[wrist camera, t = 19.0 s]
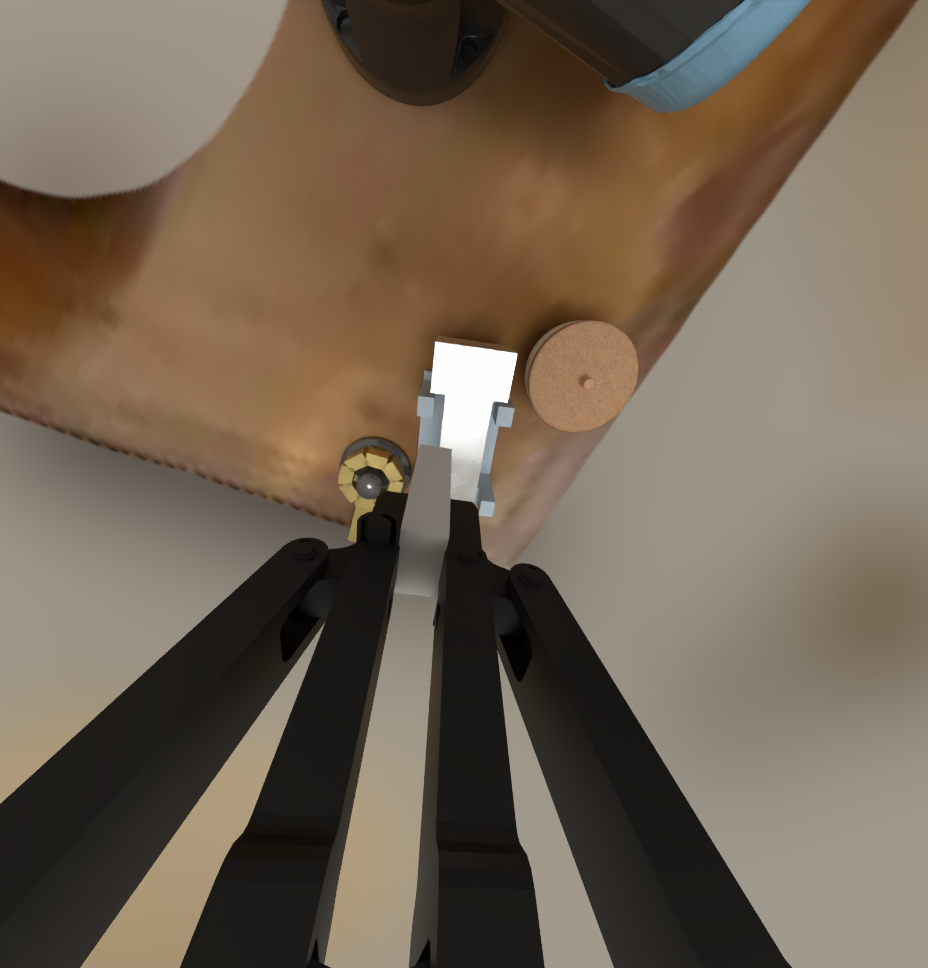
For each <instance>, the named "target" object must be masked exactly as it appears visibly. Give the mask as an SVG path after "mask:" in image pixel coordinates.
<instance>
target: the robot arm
mask: <svg viewBox="0 0 928 968" xmlns="http://www.w3.org/2000/svg"><path fill="white" fill-rule="evenodd" d="M320 1H321V3H322V6H323V9H324V11H325V13H326V16H327V18H328V20H329V22H330V25H331V27H332V29H333V31H334V33H335V35H336V37H337V40H338V42H339V43H340V45H341V47H342V49H343V51H344V52H345V54H346V55H347V57H348V58H349V60H350V61H351V63H352V64H353V65H354V67H355V68H356V69H357V70H358V72H359V73H360V74H361V75H362V76H363V77H364V78H365V79H366V80H367V81H368V82H369V83H370V84H371V85H373V86H374V87H375V88H376V89H378V90H379V91H380V92H382V93H383V94H385V95H387V96H389V97H391V98H393V99H395V100H397V101H400V102H403V103H407V104H412V105H432V104H437V103H441V102H444V101H447V100H449V99H451V98H453V97H455V96H457V95H458V94H460V93H461V92H463V91H464V90H465V89H466V88H468V87H469V86H470V85H471V84H472V83H473V82H474V81H475V80H476V79H477V78H478V77H479V75H480V74H481V73H482V72H483V70H484V69H485V67H486V66H487V64H488V63H489V61H490V60H491V58H492V56H493V54H494V52H495V50H496V48H497V46H498V44H499V42H500V39H501V37H502V34H503V31H504V28H505V25H506V22H507V18H508V14H509V11H510V12H512V13H513V14H515V15H516V16H517V17H519V18H520V19H522V20H523V21H524V22H526V23H527V24H529V25H530V26H531V27H533V28H534V29H536V30H537V31H538V32H540V33H541V34H543V35H544V36H545V37H547V38H548V39H550V40H551V41H552V42H554V43H555V44H557V45H558V46H559V47H561V48H562V49H564V50H565V51H566V52H568V53H569V54H571V55H572V56H573V57H575V58H576V59H578V60H579V61H580V62H582V63H583V64H585V65H586V66H587V67H589V68H590V69H592V70H593V71H594V72H596V73H597V74H599V75H600V76H601V77H602V82H603V84H604V85H605V86H606V87H607V88H608V89H609V90H610V91H612V92H618V93H621V94H623V93H625V94H627V95H628V96H630V97H632V98H633V99H635V100H636V101H638V102H640V103H641V104H643V105H644V106H646V107H648V108H649V109H651V110H653V111H655V112H659V113H667V112H675V111H682V110H685V109H688V108H690V107H692V106H694V105H696V104H698V103H700V102H701V101H703V100H705V99H706V98H708V97H709V96H711V95H712V94H713V93H715V92H716V91H718V90H719V89H720V88H722V87H723V86H724V85H725V84H727V83H728V82H729V81H730V80H732V79H733V78H734V77H735V76H736V75H737V74H738V73H740V72H741V71H742V70H743V69H744V68H745V67H746V66H747V65H749V64H750V63H751V62H752V61H753V60H754V59H755V58H756V57H757V56H758V55H759V54H760V53H761V52H762V51H763V50H764V49H765V48H766V47H767V46H768V45H769V44H770V43H771V42H772V41H773V40H774V39H775V38H776V37H777V36H778V35H779V34H780V33H781V32H782V31H783V30H784V29H785V28H786V27H787V26H788V25H789V24H790V23H791V22H792V21H793V19H794V18H795V17H796V16H797V15H798V14H799V13H800V12H801V11H802V10H803V9H804V7H805V6H806V5H807V4H808V3H809V2H810V1H811V0H320ZM451 460H452V449H449V448H443V447H436V446H430V445H423V444H420V446H419V450H418V455H417V459H416V463H415V468H414V472H413V477H412V481H411V486H410V490H409V494H406V493H399V492H392V491H384V492H383V493H381V494H380V495H379V496H378V497H377V499H376V502H375V505H374V507H373V510H372V511H371V512H367V513H365V514H363V515H361V516H360V517H359V518H358V520H357V535H356V543H355V544H353V545H351V546H348V547H344V548H337V549H328V546H327V545H326V544H325V542H323V541H321V540H319V539H315V538H300V539H297V540H293V541H291V542H290V543H288V544H286V545H284V546H283V547H282V548H281V549H280V550H279V551H278V552H277V553H276V554H275V555H274V556H272V557H271V558H270V559H269V560H268V561H267V562H266V563H265V564H263V565H262V566H261V567H260V568H259V569H258V570H257V571H256V572H255V573H254V574H252V575H251V576H250V577H249V578H248V579H247V580H246V581H245V582H244V583H243V584H241V585H240V586H239V587H238V588H237V589H236V590H235V591H234V592H233V593H232V594H231V595H229V596H228V597H227V598H226V599H225V600H224V601H223V602H222V603H221V604H219V605H218V606H217V607H216V608H215V609H214V610H213V611H212V612H211V613H210V614H208V615H207V616H206V617H205V618H204V619H203V620H202V621H201V622H200V623H199V624H198V625H196V626H195V627H194V628H193V629H192V630H191V631H190V632H189V633H188V634H187V635H185V637H183V638H182V639H181V640H180V641H179V642H178V643H177V644H176V645H175V646H173V647H172V648H171V649H170V650H169V651H168V652H167V653H166V654H165V655H163V656H162V657H161V658H160V659H159V660H158V661H157V662H156V663H155V664H154V665H152V666H151V667H150V668H149V669H148V670H147V671H146V672H145V673H144V674H143V675H141V677H139V678H138V679H137V680H136V681H135V682H134V683H133V684H132V685H130V686H129V687H128V688H127V689H126V690H125V691H124V692H123V693H122V694H121V695H119V696H118V697H117V698H116V699H115V700H114V701H113V702H112V703H111V704H110V705H108V706H107V707H106V708H105V709H104V710H103V711H102V712H101V713H100V714H99V715H98V716H96V717H95V718H94V719H93V720H92V721H91V722H90V723H89V724H88V725H87V726H85V727H84V728H83V729H82V730H81V731H80V732H79V733H78V734H77V735H76V736H74V737H73V738H72V739H71V740H70V741H69V742H68V743H67V744H66V745H64V746H63V747H62V748H61V749H60V750H59V751H58V752H57V753H56V754H55V755H54V756H52V757H51V758H50V759H49V760H48V761H47V762H46V763H45V764H44V765H43V766H42V767H40V768H39V769H38V770H37V771H36V772H35V773H34V774H33V775H32V776H31V777H29V778H28V779H27V780H26V781H25V782H24V783H23V784H22V785H21V786H20V787H18V788H17V789H16V790H15V791H14V792H13V793H12V794H11V795H10V796H8V797H7V798H6V799H5V800H4V801H3V802H2V803H1V804H0V968H80V967H81V965H82V964H83V963H84V961H85V960H86V958H87V957H88V956H89V954H90V953H91V951H92V950H93V949H94V947H95V946H96V944H97V943H98V942H99V940H100V939H101V937H102V936H103V934H104V933H105V932H106V930H107V928H108V927H109V926H110V924H111V923H112V922H113V920H114V919H115V918H116V916H117V915H118V913H119V912H120V910H121V909H122V908H123V906H124V905H125V903H126V902H127V901H128V899H129V898H130V896H131V895H132V894H133V892H134V891H135V889H136V888H137V887H138V885H139V884H140V882H141V881H142V879H143V878H144V877H145V875H146V874H147V872H148V871H149V869H150V868H151V867H152V865H153V864H154V863H155V861H156V859H157V858H158V857H159V855H160V854H161V853H162V851H163V850H164V848H165V847H166V846H167V844H168V843H169V841H170V840H171V839H172V837H173V836H174V834H175V833H176V831H177V830H178V829H179V827H180V826H181V824H182V823H183V822H184V820H185V819H186V817H187V816H188V815H189V813H190V812H191V810H192V809H193V807H194V806H195V805H196V803H197V802H198V800H199V799H200V797H201V796H202V795H203V793H204V792H205V791H206V789H207V788H208V786H209V785H210V783H211V782H212V781H213V779H214V778H215V777H216V775H217V774H218V772H219V771H220V769H221V768H222V767H223V765H224V763H225V762H226V761H227V760H228V758H229V757H230V755H231V754H232V752H233V751H234V750H235V748H236V747H237V745H238V744H239V743H240V741H241V740H242V738H243V737H244V736H245V734H246V733H247V731H248V730H249V728H250V727H251V726H252V724H253V723H254V721H255V720H256V719H257V717H258V716H259V714H260V713H261V712H262V710H263V709H264V707H265V706H266V705H267V703H268V702H269V700H270V699H271V698H272V696H273V695H274V693H275V691H276V690H277V689H278V688H279V686H280V684H281V683H282V682H283V681H284V679H285V678H286V676H287V675H288V674H289V672H290V671H291V669H292V668H293V666H294V665H295V664H296V662H297V661H298V659H299V658H300V657H301V655H302V654H303V652H304V651H305V650H306V648H307V647H308V645H309V644H310V642H311V641H312V640H313V638H314V637H315V635H316V634H317V632H318V631H319V630H320V628H321V627H322V625H323V624H324V623H325V625H324V627H323V630H322V633H321V635H320V638H319V641H318V643H317V646H316V648H315V651H314V654H313V656H312V659H311V661H310V664H309V667H308V670H307V672H306V675H305V677H304V680H303V682H302V685H301V688H300V690H299V693H298V695H297V698H296V701H295V703H294V706H293V709H292V712H291V714H290V717H289V719H288V722H287V724H286V727H285V730H284V732H283V735H282V737H281V740H280V743H279V745H278V748H277V750H276V753H275V756H274V759H273V761H272V764H271V766H270V769H269V771H268V774H267V777H266V779H265V782H264V784H263V787H262V790H261V792H260V795H259V798H258V800H257V803H256V805H255V808H254V811H253V813H252V816H251V818H250V821H249V823H248V825H247V827H246V829H245V830H244V832H243V833H242V834H241V836H240V837H239V838H238V839H237V840H236V841H235V842H234V843H233V845H232V847H231V848H230V850H229V852H228V854H227V855H226V857H225V859H224V861H223V864H222V866H221V868H220V870H219V873H218V875H217V877H216V879H215V882H214V884H213V887H212V889H211V892H210V894H209V897H208V899H207V902H206V904H205V907H204V909H203V912H202V914H201V917H200V919H199V922H198V924H197V926H196V929H195V931H194V934H193V936H192V939H191V941H190V944H189V947H188V949H187V951H186V954H185V956H184V959H183V961H182V964H181V966H180V968H330V967H328V966H326V965H324V961H325V956H326V950H327V945H328V939H329V934H330V929H331V922H332V917H333V910H334V904H335V897H336V890H337V885H338V880H339V875H340V870H341V865H342V859H343V854H344V849H345V844H346V839H347V834H348V829H349V823H350V818H351V813H352V808H353V802H354V798H355V793H356V788H357V782H358V777H359V772H360V767H361V762H362V757H363V752H364V747H365V742H366V737H367V731H368V726H369V721H370V715H371V711H372V706H373V701H374V696H375V690H376V685H377V680H378V675H379V670H380V665H381V660H382V655H383V650H384V644H385V639H386V634H387V629H388V624H389V619H390V614H391V608H392V602H393V594H394V593H402V594H411V595H420V596H429V597H437V596H438V601H437V605H436V611H435V616H434V621H433V626H435V628H434V641H433V657H432V672H431V686H430V701H429V716H428V731H427V746H426V761H425V776H424V791H423V792H424V793H423V806H422V821H421V837H420V851H419V867H418V881H417V892H416V901H415V908H414V916H413V924H412V934H411V947H410V959H409V968H545V967H544V959H543V951H542V944H541V936H540V928H539V920H538V912H537V904H536V896H535V889H534V883H533V877H532V871H531V867H530V864H529V860H528V857H527V854H526V853H525V851H524V850H523V848H522V846H521V845H520V842H519V839H518V835H517V828H516V820H515V811H514V802H513V792H512V783H511V773H510V764H509V755H508V746H507V738H506V737H507V736H506V727H505V718H504V709H503V699H502V692H501V681H500V672H499V663H498V653H499V655H500V658H501V661H502V663H503V666H504V669H505V672H506V674H507V677H508V680H509V682H510V685H511V688H512V691H513V693H514V696H515V699H516V701H517V704H518V707H519V710H520V712H521V715H522V718H523V720H524V723H525V726H526V729H527V731H528V734H529V737H530V740H531V742H532V745H533V748H534V751H535V753H536V756H537V759H538V761H539V764H540V767H541V770H542V772H543V775H544V778H545V780H546V783H547V786H548V789H549V791H550V794H551V797H552V800H553V802H554V805H555V808H556V811H557V813H558V816H559V819H560V822H561V824H562V827H563V830H564V832H565V835H566V838H567V841H568V843H569V846H570V849H571V851H572V854H573V857H574V859H575V862H576V865H577V868H578V871H579V873H580V876H581V879H582V881H583V884H584V887H585V890H586V892H587V895H588V897H589V900H590V903H591V906H592V909H593V911H594V914H595V917H596V920H597V922H598V925H599V928H600V931H601V933H602V936H603V939H604V941H605V944H606V947H607V950H608V952H609V955H610V958H611V961H612V963H613V966H614V968H792V967H791V966H790V965H789V964H788V963H787V961H786V960H785V959H784V957H783V955H782V954H781V952H780V951H779V949H778V947H777V946H776V944H775V942H774V941H773V939H772V938H771V936H770V934H769V933H768V931H767V929H766V928H765V926H764V925H763V923H762V921H761V920H760V918H759V917H758V915H757V913H756V912H755V910H754V908H753V907H752V905H751V904H750V902H749V900H748V899H747V897H746V895H745V894H744V892H743V891H742V889H741V887H740V886H739V884H738V882H737V881H736V879H735V878H734V876H733V874H732V873H731V871H730V869H729V868H728V866H727V865H726V863H725V861H724V860H723V858H722V857H721V855H720V853H719V852H718V850H717V848H716V847H715V845H714V843H713V842H712V840H711V839H710V837H709V836H708V834H707V832H706V831H705V829H704V827H703V826H702V824H701V822H700V821H699V819H698V817H697V816H696V814H695V813H694V811H693V809H692V808H691V806H690V805H689V803H688V801H687V800H686V798H685V796H684V795H683V793H682V792H681V790H680V788H679V787H678V785H677V784H676V782H675V780H674V779H673V777H672V775H671V774H670V772H669V770H668V769H667V767H666V766H665V764H664V762H663V761H662V759H661V757H660V756H659V754H658V753H657V751H656V749H655V748H654V746H653V744H652V743H651V741H650V740H649V738H648V736H647V735H646V733H645V732H644V730H643V728H642V727H641V725H640V723H639V722H638V720H637V719H636V717H635V715H634V714H633V712H632V710H631V709H630V707H629V706H628V704H627V702H626V701H625V699H624V698H623V696H622V694H621V693H620V691H619V689H618V688H617V686H616V684H615V683H614V681H613V680H612V678H611V677H610V675H609V673H608V671H607V670H606V668H605V667H604V665H603V663H602V662H601V660H600V659H599V657H598V655H597V654H596V652H595V650H594V649H593V647H592V646H591V644H590V642H589V641H588V639H587V637H586V636H585V634H584V633H583V632H582V629H581V628H580V626H579V625H578V623H577V621H576V620H575V618H574V616H573V615H572V613H571V612H570V610H569V608H568V607H567V605H566V603H565V602H564V600H563V598H562V597H561V595H560V594H559V592H558V590H557V589H556V587H555V586H554V584H553V583H552V581H551V579H550V577H549V576H548V575H547V574H546V573H545V572H544V571H543V570H541V569H540V568H539V567H537V566H534V565H531V564H524V563H521V564H516V565H515V566H513V567H512V568H511V570H507V569H505V568H502V567H499V566H497V565H495V564H493V563H492V562H490V561H489V560H488V559H487V556H486V553H485V552H484V551H483V550H482V545H481V535H480V526H479V514H478V509H477V507H476V506H475V505H474V503H473V502H470V501H463V500H455V499H450V497H451ZM325 621H326V622H325ZM497 650H498V653H497Z"/></svg>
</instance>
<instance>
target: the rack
mask: <svg viewBox="0 0 928 968" xmlns="http://www.w3.org/2000/svg"><path fill="white" fill-rule="evenodd" d="M432 373H433V371H430V370H425V371H424V380H423V383H422V386H421V389H420V392H419V395H418V406H417V416H421V418H420V430H419V442H418V450H419V446H420V444H423V445H430V446H436V447H439V444H440V435H441V426H442V418H443V409H444V401H445V394H437V393H431V383H432ZM514 410H515V408H514V406H513V404H512V402H511V400H510V399H508V403H505V402H497V401H493V403H492V409H491V414H490V420H489V425H488V431H487V436H486V442H485V447H484V453H483V458H482V464H481V469H480V475H479V480H478V486H477V492H476V497H475V502H477V506H478V514H479V516H488V517H492V515H493V511H494V506H495V499H494V494H493V489H492V484H491V479H490V469H491V464H492V459H493V453H494V448H495V443H496V438H497V432H498V427H499V426H503V427H511V424H512V419H513V414H514ZM417 455H418V454H417Z"/></svg>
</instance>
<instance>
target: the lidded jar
mask: <svg viewBox="0 0 928 968" xmlns="http://www.w3.org/2000/svg"><path fill="white" fill-rule="evenodd" d="M638 367H639V365H638V357H637V353H636V350H635V347H634V345H633V343H632V341H631V340H630V339H629V337H628V336H627V335H626V334H625V333H624V332H623V331H622V330H621V329H619V328H618V327H616V326H614V325H612V324H610V323H607V322H604V321H597V320H576V321H571V322H566V323H564V324H561V325H558V326H557V327H555V328H553V329H551V330H550V331H548V332H547V333H546V334H545V335H543V336H542V337H541V338H540V340H539V341H538V342H537V343H536V344H535V346H534V347H533V349H532V351H531V353H530V355H529V357H528V360H527V364H526V368H525V386H526V390H527V394H528V396H529V399H530V401H531V404H532V406H533V408H534V410H535V411H536V412H537V414H538V415H539V417H540V418H541V419H542V420H543V421H544V422H546V423H547V424H549V425H550V426H552V427H554V428H556V429H559V430H562V431H567V432H582V431H588V430H591V429H594V428H597V427H599V426H601V425H603V424H605V423H606V422H608V421H610V420H611V419H612V418H613V417H615V416H616V415H617V414H618V413H619V412H620V411H621V410H622V409H623V408H624V406H625V405H626V403H627V402H628V401H629V399H630V397H631V395H632V393H633V391H634V388H635V386H636V382H637V377H638Z"/></svg>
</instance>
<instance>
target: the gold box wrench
mask: <svg viewBox="0 0 928 968" xmlns="http://www.w3.org/2000/svg"><path fill="white" fill-rule="evenodd" d="M390 453H391V450H388V449H385V448H382V447H378V446H375V445H371V446H370V448H368V446H367V445H365V446H363V447H361V448H359V449H357V450H355V451H353V452H351V453H349V455H348V456H347V457H346V459H345V460H344V462H343V463H342V465H341V469H340V474H339V479H338V483H339V484H340V486H339V488H340V490H341V491H342V492H343V494H344V495H345V496H346V497H347V499H348V500H349V501H350V503H351V502H353V501H356V502H355V506H356V508H355V512H354V516H353V521H352V525H351V529H350V534H349V538H348V540H349V541H354V542H356V535H357V520H358V518H359V517H360V516H361V515H363V514H365V513H367V512H371V511H372V510H373V507H374V505H375V502H376V499H377V497H378V496H379V495H380V494H381V493H383V492H384V491H392V492H399V493H401V490H402V486H403V483H404V479H405V475H406V473H404V472H405V468H404V466H403V465H402V463H401V462H400V460H399V458H398V457H397V455H396V454H393V455H390ZM365 466H371V467H374V468H378V469H381V470H383V472H384V473H385V475H386V476H387V478H388V479H389V481H390V484H389V485H387V486H385V487H383V488H381V490H380V493H379V495H378V496H377V497H376V498H374V499H364V498H362V497H361V496H359V495H358V493H357V491H356V485H357V483H358V481H359V478H358V476H357V475H356V474H357V470H358V469H361V468H363V467H365Z"/></svg>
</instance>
